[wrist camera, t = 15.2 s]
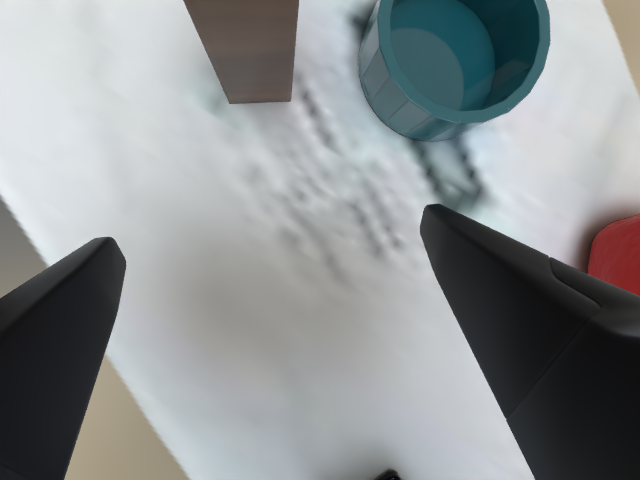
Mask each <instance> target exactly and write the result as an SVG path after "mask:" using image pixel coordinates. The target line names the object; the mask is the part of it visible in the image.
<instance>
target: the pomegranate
mask: <svg viewBox="0 0 640 480" xmlns="http://www.w3.org/2000/svg"><path fill="white" fill-rule="evenodd" d="M588 275H591V276H593V277H595V278H598V279H600V280H603V281H605V282H607V283H610V284H612V285H614V286H617V287H619V288H622V289H624V290H626V291H629V292H631V293H634V294H636V295H639V296H640V214H638V215H636V216H634V217H629V218H625V219H623V220H618V221H615V222H613V223H611V224H609V225H608V226H606V227H605V228H604V229H602V230H601V231H600V232H598V234H597V235H596V236H595V238H594V240H593V242H592V246H591V253H590V258H589V264H588Z"/></svg>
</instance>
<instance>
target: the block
mask: <svg viewBox="0 0 640 480" xmlns="http://www.w3.org/2000/svg"><path fill="white" fill-rule="evenodd" d="M183 1H184V3H185V5H186V8H187V10H188V12H189V14H190V16H191V19H192V21H193V23H194V25H195V28H196V30H197V32H198V34H199V37H200V39H201V41H202V43H203V45H204V48H205V50H206V52H207V54H208V57H209V59H210V61H211V63H212V66H213V68H214V70H215V72H216V74H217V77H218V79H219V81H220V83H221V86H222V88H223V90H224V92H225V95H226V97H227V99H228V101H229V103H230V104H231V103H257V102H283V101H291V92H292V80H293V68H294V56H295V44H296V32H297V19H298V7H299V0H183Z"/></svg>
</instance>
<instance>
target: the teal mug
mask: <svg viewBox="0 0 640 480" xmlns="http://www.w3.org/2000/svg"><path fill="white" fill-rule="evenodd" d="M549 46H550V16H549V10H548V7H547V4H546V1H545V0H378V1H377V3H376V5H375V8H374V10H373V12H372V14H371V17H370V19H369V21H368V23H367V26H366V28H365V32H364V35H363V38H362V41H361V45H360V51H359V64H358V66H359V76H360V81H361V85H362V88H363V91H364V94H365V96H366V98H367V100H368V102H369V104H370V106H371V107H372V109H373V110H374V112H375V113H376V114H377V116H378V117H379V118H380V119H381V120H382V121H383V122H384V123H385V124H386V125H387V126H388V127H390V128H391V129H393V130H394V131H396V132H397V133H399V134H401V135H403V136H406V137H408V138H411V139H415V140H420V141H430V142H433V141H442V140H447V139H450V138H453V137H456V136H458V135H460V134H462V133H465V132H467V131H470V130H472V129H474V128H476V127H478V126H480V125H482V124H484V123H487V122H489V121H491V120H493V119H495V118H497V117H499V116H501V115H504V114H506V113H508V112H509V111H511V110H512V109H513V108H514V107H515V106H516V105H517V104H518V103H520V102H521V101H522V100H523V99H524V98H525V97H526V96H527V95H528V94H529V93H530V92H531V90H532V88H533V87H534V85H535V83H536V82H537V80H538V78H539V76H540V75H541V73H542V71H543V69H544V66H545V62H546V58H547V54H548V50H549Z"/></svg>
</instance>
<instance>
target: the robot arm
mask: <svg viewBox="0 0 640 480" xmlns="http://www.w3.org/2000/svg"><path fill="white" fill-rule="evenodd" d="M420 234H421V237H422V240H423V243H424V246H425V249H426V251H427V254H428V257H429V260H430V263H431V266H432V269H433V271H434V274H435V276H436V278H437V280H438V283H439V285H440V287H441V289H442V291H443V293H444V295H445V297H446V299H447V301H448V303H449V305H450V307H451V309H452V311H453V313H454V315H455V317H456V319H457V321H458V323H459V325H460V327H461V329H462V331H463V333H464V335H465V337H466V339H467V341H468V343H469V345H470V347H471V349H472V352H473V354H474V356H475V358H476V360H477V362H478V364H479V366H480V368H481V370H482V372H483V374H484V376H485V378H486V380H487V382H488V384H489V386H490V388H491V390H492V392H493V394H494V396H495V398H496V400H497V402H498V404H499V406H500V408H501V410H502V412H503V414H504V416H505V418H507V419H506V421H507V423H508V425H509V427H510V429H511V431H512V433H513V435H514V437H515V439H516V441H517V443H518V445H519V447H520V449H521V451H522V453H523V455H524V457H525V460H526V462H527V464H528V466H529V468H530V470H531V472H532V474H533V476H534V478H535V480H640V296H639V295H636V294H634V293H631V292H629V291H626V290H624V289H622V288H619V287H617V286H614V285H612V284H610V283H607V282H605V281H603V280H600V279H598V278H595V277H593V276H591V275H588V274H586V273H584V272H582V271H580V270H577V269H575V268H573V267H571V266H569V265H567V264H564V263H562V262H560V261H558V260H556V259H554V258H552V257H550V258H549V256H548V255H546V254H543V253H541V252H539V251H537V250H535V249H533V248H531V247H529V246H527V245H525V244H522V243H520V242H518V241H516V240H514V239H512V238H510V237H508V236H506V235H504V234H502V233H499V232H497V231H495V230H493V229H491V228H489V227H487V226H485V225H483V224H481V223H479V222H476V221H474V220H472V219H470V218H468V217H466V216H464V215H462V214H460V213H458V212H456V211H453V210H451V209H449V208H447V207H445V206H443V205H441V204H432V205H427V206H425V208H424V211H423V216H422V220H421V225H420ZM125 270H126V260H125V257H124V255H123V254H122V252H121V250H120V248H119V247H118V245H117V243H116V241H115V240H114V239H113V238H112V237H101V238H95V239H93V240H91V241H90V242H88V243H86V244H85V245H83V246H82V247H80V248H79V249H77V250H75V251H74V252H72V253H71V254H69V255H68V256H66V257H65V258H63V259H61V260H60V261H58V262H57V263H55V264H54V265H52V266H50V267H49V268H47V269H46V270H44V271H43V272H41V273H40V274H38V275H36V276H35V277H33V278H32V279H30V280H28V281H27V282H25V283H24V284H22V285H21V286H19V287H18V288H16V289H14V290H13V291H11V292H10V293H8V294H7V295H5V296H3V297H2V298H0V480H64V478H65V475H66V472H67V469H68V466H69V463H70V460H71V456H72V453H73V450H74V447H75V444H76V440H77V438H78V435H79V432H80V428H81V425H82V422H83V419H84V416H85V413H86V410H87V407H88V403H89V400H90V397H91V394H92V391H93V387H94V384H95V382H96V378H97V375H98V372H99V369H100V366H101V362H102V360H103V357H104V353H105V350H106V347H107V344H108V341H109V338H110V335H111V332H112V329H113V325H114V322H115V319H116V316H117V312H118V307H119V302H120V297H121V292H122V286H123V281H124V276H125ZM392 478H394V479H393V480H401V478H400V477H399V475H398V474H397V473H396V472H395V471H389V472H387V473H386V474H385V475H383V476H382V477H380V478H379V479H377V480H391V479H392Z"/></svg>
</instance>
